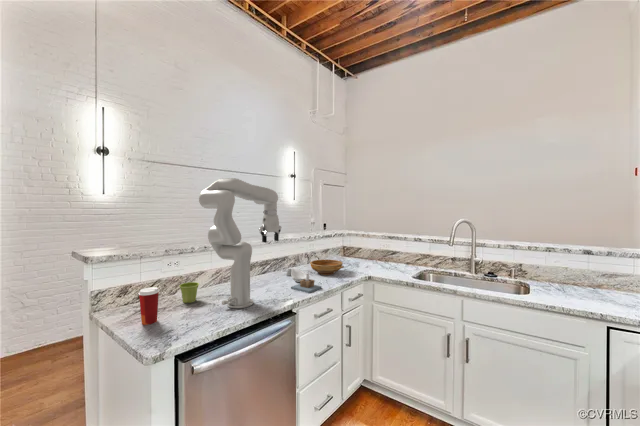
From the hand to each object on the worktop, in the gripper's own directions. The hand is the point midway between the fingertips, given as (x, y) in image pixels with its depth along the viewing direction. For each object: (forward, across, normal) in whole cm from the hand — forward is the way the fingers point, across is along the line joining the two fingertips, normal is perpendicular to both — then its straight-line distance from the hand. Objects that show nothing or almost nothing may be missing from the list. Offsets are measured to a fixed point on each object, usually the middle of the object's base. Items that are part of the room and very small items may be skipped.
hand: (270, 241), depth 167 cm
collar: (+27, +14, -17) cm, 35 cm away
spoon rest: (+29, +26, +2) cm, 39 cm away
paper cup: (+28, -65, +5) cm, 71 cm away
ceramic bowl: (+29, +52, -4) cm, 59 cm away
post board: (+28, +13, -17) cm, 35 cm away
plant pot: (+29, -41, +17) cm, 53 cm away
